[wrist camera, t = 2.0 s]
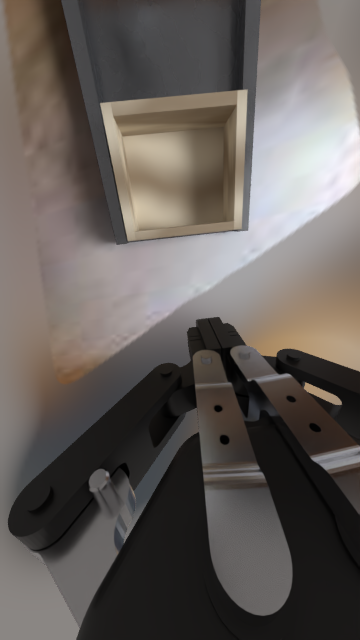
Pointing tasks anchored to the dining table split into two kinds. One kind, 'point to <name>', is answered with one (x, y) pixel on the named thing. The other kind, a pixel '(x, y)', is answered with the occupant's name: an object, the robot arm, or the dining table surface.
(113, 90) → the bay
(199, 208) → the box
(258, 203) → the dining table surface
